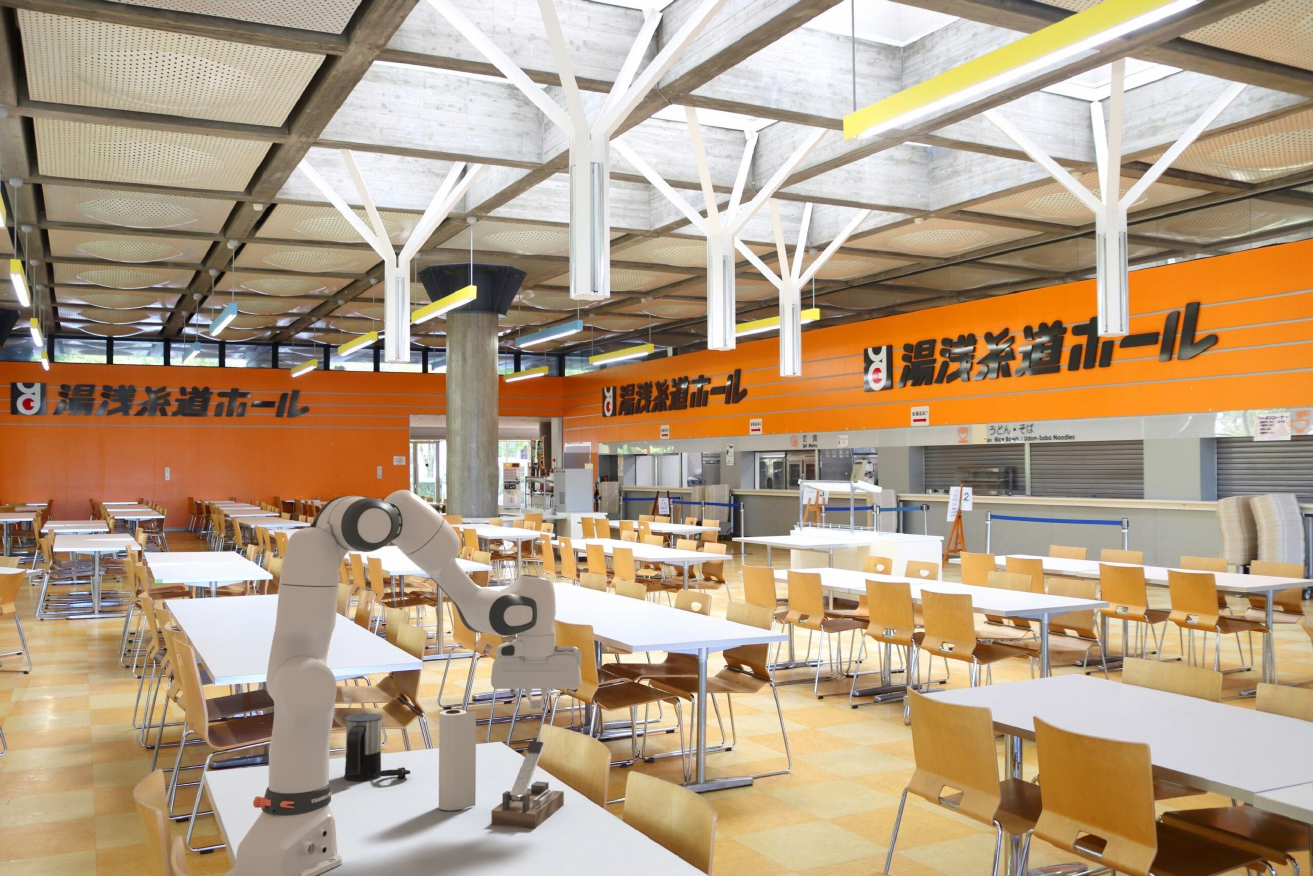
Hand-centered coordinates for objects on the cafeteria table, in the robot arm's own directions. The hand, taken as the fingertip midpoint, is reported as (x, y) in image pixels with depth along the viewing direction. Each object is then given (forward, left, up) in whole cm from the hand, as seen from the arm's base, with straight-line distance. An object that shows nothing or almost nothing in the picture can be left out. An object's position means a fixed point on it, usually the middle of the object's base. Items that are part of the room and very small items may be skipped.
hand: (536, 708), depth 229 cm
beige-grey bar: (-5, 0, -13) cm, 14 cm away
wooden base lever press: (-4, 0, -22) cm, 23 cm away
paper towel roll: (-4, +18, -22) cm, 29 cm away
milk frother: (+13, +48, -23) cm, 54 cm away
